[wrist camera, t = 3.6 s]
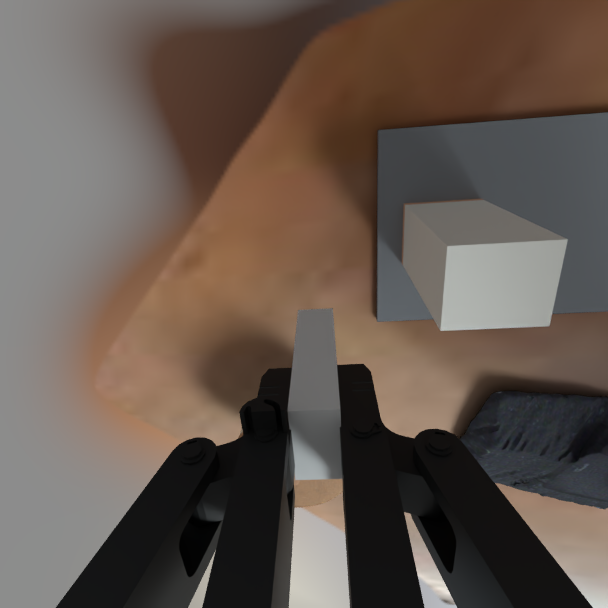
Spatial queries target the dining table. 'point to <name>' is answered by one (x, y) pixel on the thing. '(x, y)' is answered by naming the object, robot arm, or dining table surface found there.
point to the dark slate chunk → (544, 444)
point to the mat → (500, 195)
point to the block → (481, 264)
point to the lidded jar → (314, 490)
